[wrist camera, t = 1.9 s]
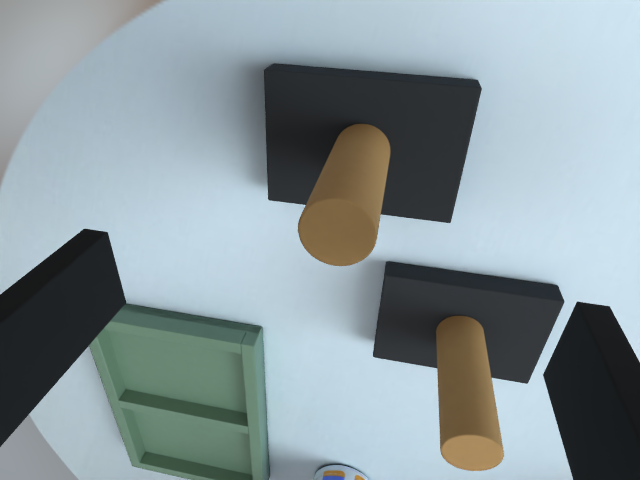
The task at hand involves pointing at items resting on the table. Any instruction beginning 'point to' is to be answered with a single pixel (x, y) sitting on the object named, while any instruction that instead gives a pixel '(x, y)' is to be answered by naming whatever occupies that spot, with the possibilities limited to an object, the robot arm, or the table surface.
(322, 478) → the pill bottle
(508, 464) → the table surface
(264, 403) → the pad holder
